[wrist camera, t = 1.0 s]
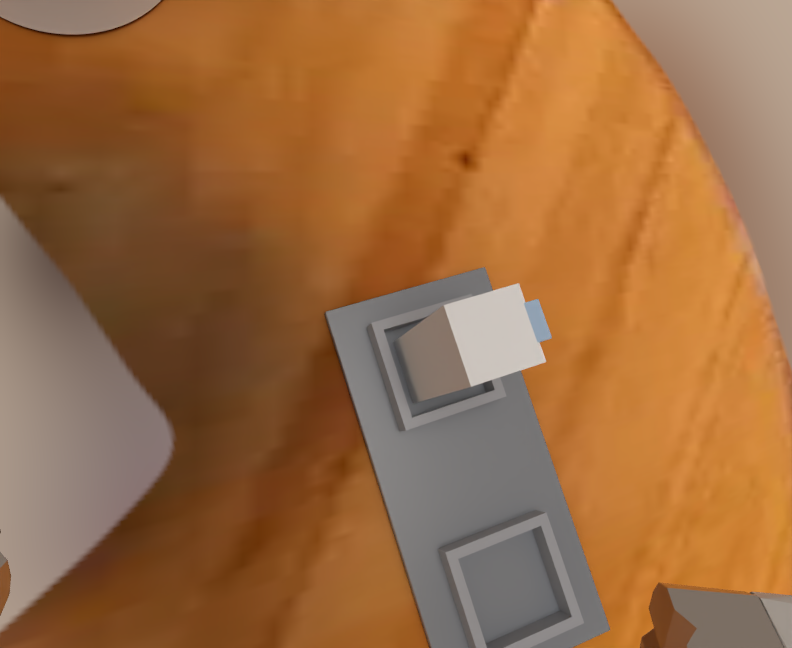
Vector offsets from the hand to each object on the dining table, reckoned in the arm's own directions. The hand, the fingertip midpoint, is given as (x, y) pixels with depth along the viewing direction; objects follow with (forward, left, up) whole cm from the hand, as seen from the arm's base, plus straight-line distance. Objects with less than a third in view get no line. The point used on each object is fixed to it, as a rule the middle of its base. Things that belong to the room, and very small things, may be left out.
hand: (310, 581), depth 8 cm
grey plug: (-3, +12, -32) cm, 34 cm away
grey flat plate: (+4, +12, -32) cm, 35 cm away
